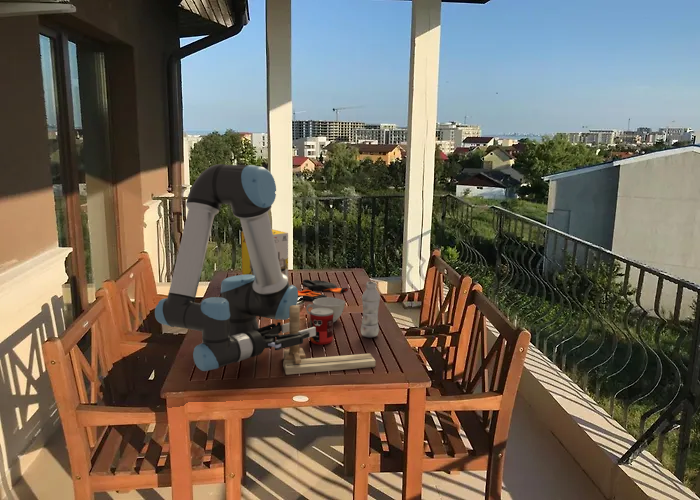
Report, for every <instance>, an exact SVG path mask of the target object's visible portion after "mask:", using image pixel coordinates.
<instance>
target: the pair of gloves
mask: <svg viewBox="0 0 700 500" xmlns="http://www.w3.org/2000/svg"><path fill="white" fill-rule="evenodd" d="M302 286H305V287H307V288H308V289H303V290H298V289H297V290H298V296H303V298H304V299H303V300H305V301H310V302H313V301H314V300H315V299H318V298H325V297H328V295H325V294H324V293H321V292H323V291H324V292H326V291H330V292H331V293H336V294H344V293H343V292H348V291H349V288H348V287H341V288H340V287H338V285H336V284H335V283H333V282H329V281H325V280H319V279H318V280H317V279H315V280H311V279H303V280H302ZM312 290H313V291H312ZM314 290H315V291H314ZM319 291H321V292H319Z"/></svg>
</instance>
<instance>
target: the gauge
mask: <svg viewBox="0 0 700 500" xmlns="http://www.w3.org/2000/svg"><path fill="white" fill-rule="evenodd" d="M300 308H301V307H300V305H292V306H290V307H289V318H288V320H289V322H288V323H289V332H288V334H293V333H298V331H301V330H300V327H301V326H300V321H301V319H300V317H301V316H300V315H301V311H300V310H301V309H300ZM300 345H301V344H299V345H295V346H290V347H288V348H283V359H284V360H295V362H296V364H299V363H301V359H306V354H305V351H304V349H303V347H300Z"/></svg>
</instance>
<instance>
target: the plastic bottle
mask: <svg viewBox="0 0 700 500" xmlns="http://www.w3.org/2000/svg"><path fill="white" fill-rule="evenodd" d="M365 288H366V289H365V291H364V292H363V293H362V296H361V300H362V301H361V302H362V321H361V325H360V333H361V335H362V337H364V338H375V337H377V336H378V334H379V331H380V327H379V317H378V315H379V306H380V301H381V300H380V299H381V295H380V293H379V292H378V290H377V288H378V287H377V282H375V281H366V283H365Z"/></svg>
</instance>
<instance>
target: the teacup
mask: <svg viewBox="0 0 700 500" xmlns="http://www.w3.org/2000/svg"><path fill="white" fill-rule="evenodd" d="M345 304H346V301H345V300H343V299H340V298H338V297H334V296H333V297H332V296H331V297H330V296H329V297H328V296H327V297H325V298H318V299H314V301H312V303H308V304H307V306H306V309H305V311H306V312H307V314H308V315H310V312H311V311H309V308H312V309H315V308H328V309H331V310H333V323H335V322H336V321H337V320H338V319H339V318H340V317H341V316H342V314H343V312H344V309H345Z"/></svg>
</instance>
